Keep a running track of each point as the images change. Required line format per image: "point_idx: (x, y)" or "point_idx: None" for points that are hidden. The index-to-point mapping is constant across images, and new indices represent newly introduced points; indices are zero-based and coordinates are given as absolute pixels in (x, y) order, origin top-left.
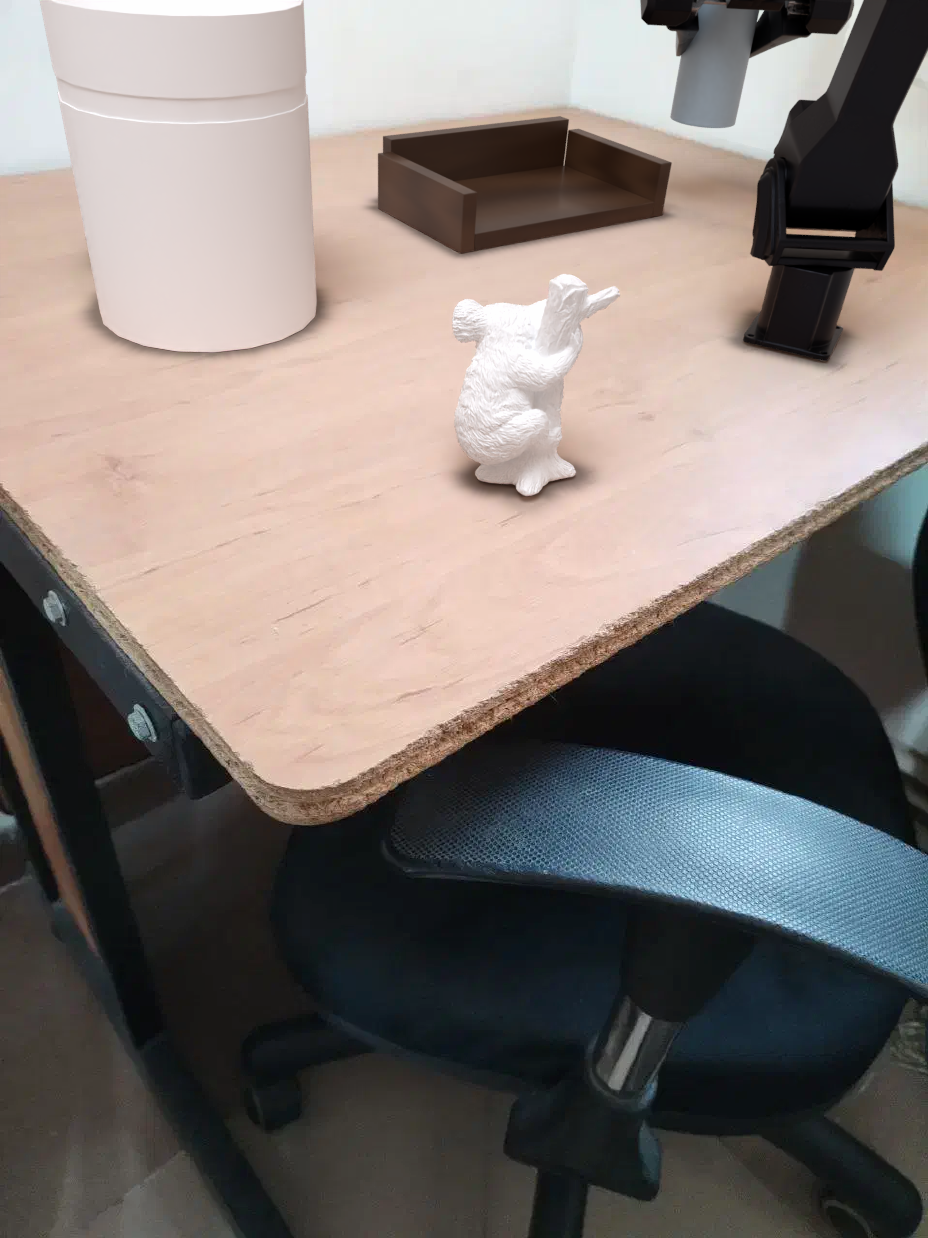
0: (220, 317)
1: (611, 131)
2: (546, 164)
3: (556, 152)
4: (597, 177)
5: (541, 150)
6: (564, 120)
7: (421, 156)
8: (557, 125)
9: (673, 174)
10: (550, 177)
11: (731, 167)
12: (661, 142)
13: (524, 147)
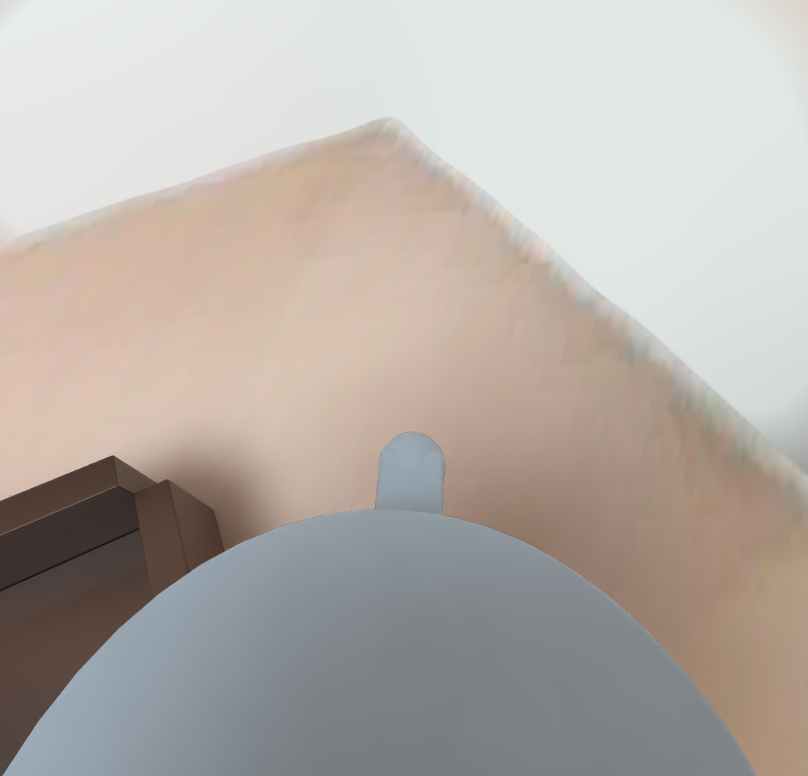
0: None
1: (412, 228)
2: (115, 535)
3: (129, 518)
4: None
5: (75, 538)
6: (103, 494)
7: None
8: (85, 507)
9: (448, 470)
10: (84, 622)
11: (590, 415)
12: (485, 276)
13: (9, 560)
